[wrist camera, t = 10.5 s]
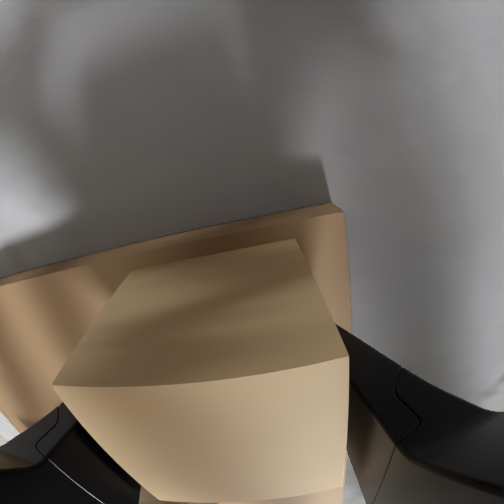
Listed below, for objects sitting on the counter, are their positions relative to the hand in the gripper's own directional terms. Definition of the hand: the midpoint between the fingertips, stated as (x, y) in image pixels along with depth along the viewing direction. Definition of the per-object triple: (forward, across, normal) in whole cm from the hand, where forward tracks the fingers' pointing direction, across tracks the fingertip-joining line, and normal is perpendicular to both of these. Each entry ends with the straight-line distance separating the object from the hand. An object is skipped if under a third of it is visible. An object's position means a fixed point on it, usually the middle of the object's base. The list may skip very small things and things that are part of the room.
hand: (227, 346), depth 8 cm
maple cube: (+1, 0, 0) cm, 1 cm away
